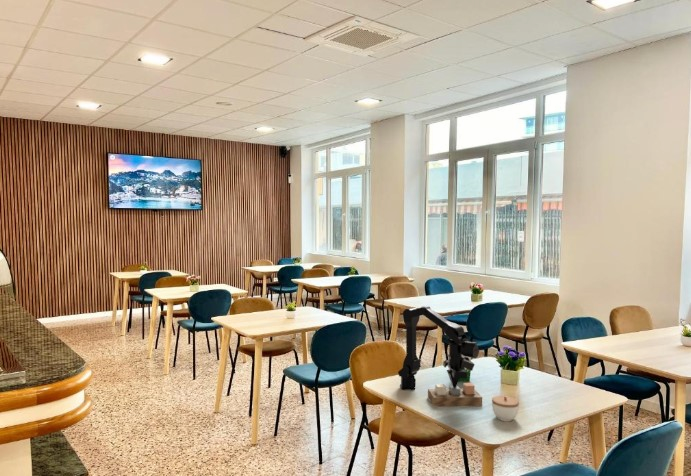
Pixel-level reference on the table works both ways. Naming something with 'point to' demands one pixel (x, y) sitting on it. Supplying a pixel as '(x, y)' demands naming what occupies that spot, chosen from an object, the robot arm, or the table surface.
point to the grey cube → (454, 390)
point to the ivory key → (440, 389)
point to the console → (454, 399)
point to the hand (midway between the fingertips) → (454, 387)
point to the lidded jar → (505, 407)
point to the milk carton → (466, 371)
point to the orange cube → (468, 388)
